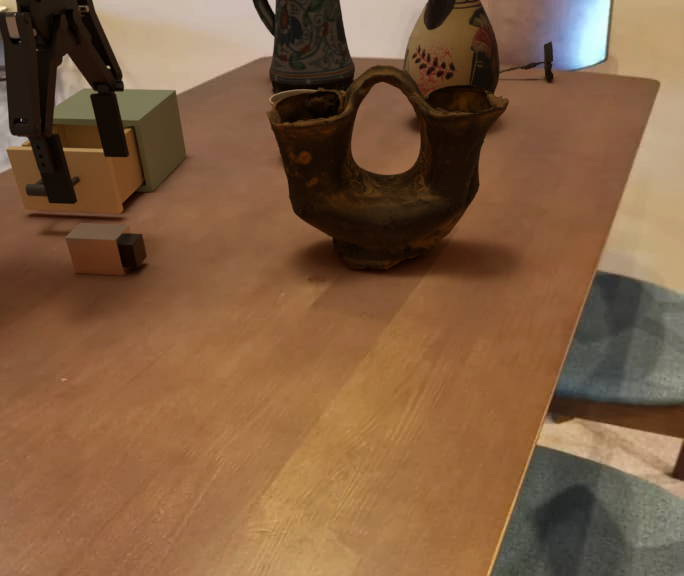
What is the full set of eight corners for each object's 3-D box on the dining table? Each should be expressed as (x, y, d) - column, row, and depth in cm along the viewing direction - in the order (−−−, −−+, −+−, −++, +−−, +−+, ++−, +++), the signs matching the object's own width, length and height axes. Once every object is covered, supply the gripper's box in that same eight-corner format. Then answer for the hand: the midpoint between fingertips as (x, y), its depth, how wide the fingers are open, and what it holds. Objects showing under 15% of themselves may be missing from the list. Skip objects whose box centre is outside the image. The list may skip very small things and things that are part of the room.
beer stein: (354, 99, 134) (351, -67, 118) (250, 101, 135) (233, -63, 118) (356, 76, 146) (354, -77, 130) (261, 78, 147) (247, -74, 131)
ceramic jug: (448, 105, 130) (461, -106, 110) (512, 125, 120) (540, -102, 101) (374, 125, 122) (375, -98, 102) (438, 148, 113) (452, -93, 93)
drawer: (104, 229, 90) (88, 166, 85) (6, 225, 92) (-16, 162, 87) (156, 176, 104) (145, 118, 99) (70, 173, 106) (55, 116, 101)
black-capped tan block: (75, 273, 84) (64, 237, 81) (90, 257, 87) (80, 222, 84) (137, 276, 83) (129, 240, 80) (150, 261, 85) (142, 225, 83)
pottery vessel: (484, 232, 89) (504, 52, 76) (496, 273, 81) (520, 79, 68) (282, 235, 90) (267, 57, 77) (273, 276, 82) (255, 84, 69)
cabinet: (152, 192, 102) (138, 120, 96) (56, 188, 104) (36, 117, 98) (186, 156, 113) (175, 89, 106) (98, 154, 115) (83, 88, 108)
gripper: (-6, -47, 54) (73, 226, 68) (124, -80, 72) (165, 140, 86) (-96, -45, 55) (0, 224, 69) (55, -78, 74) (106, 139, 87)
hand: (92, 178), depth 78 cm, fingers open, 13 cm apart
